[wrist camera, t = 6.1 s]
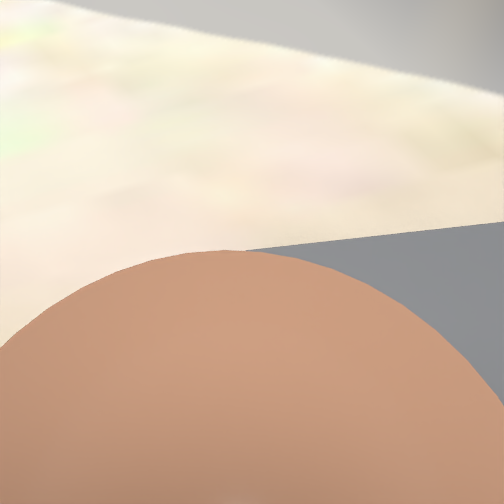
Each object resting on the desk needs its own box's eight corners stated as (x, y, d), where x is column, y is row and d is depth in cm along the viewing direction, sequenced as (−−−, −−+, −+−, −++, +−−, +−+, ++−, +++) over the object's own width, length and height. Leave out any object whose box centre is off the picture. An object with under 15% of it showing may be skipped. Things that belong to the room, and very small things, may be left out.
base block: (651, 577, 18) (720, 606, 16) (286, 619, 18) (289, 655, 15) (532, 239, 24) (568, 214, 21) (248, 270, 24) (245, 250, 21)
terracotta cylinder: (371, 563, 13) (754, 1093, 3) (166, 593, 13) (-230, 1255, 3) (331, 355, 15) (462, 214, 5) (154, 380, 15) (-91, 291, 5)
